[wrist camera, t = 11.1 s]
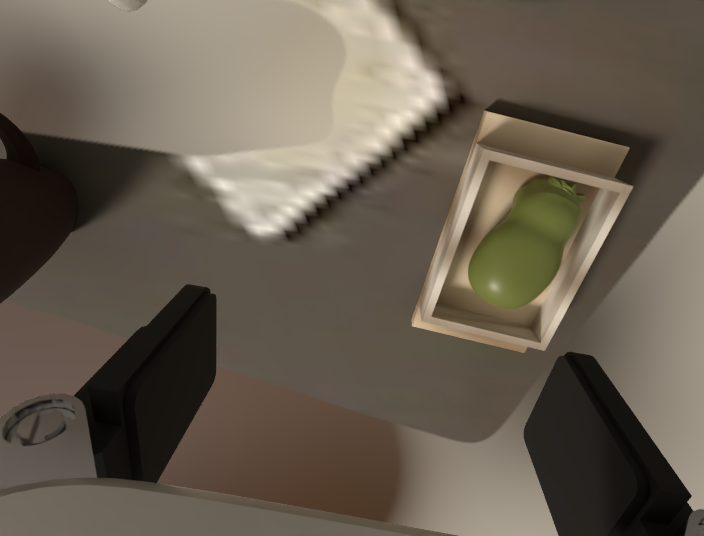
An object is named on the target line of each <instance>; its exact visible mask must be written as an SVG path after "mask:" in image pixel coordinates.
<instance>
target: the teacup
mask: <svg viewBox="0 0 704 536" xmlns="http://www.w3.org/2000/svg"><path fill="white" fill-rule="evenodd" d="M108 1H109V2H111V3H112V4H113V5H114V6H116V7H118V8H120V9H122V10H124V11H129V12H131V11H134V10H138V9H139V8H140V7H141V6H143V5H144V4H145V3H146V2H147V0H108Z"/></svg>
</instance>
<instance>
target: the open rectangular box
mask: <svg viewBox="0 0 704 536" xmlns="http://www.w3.org/2000/svg"><path fill="white" fill-rule="evenodd" d="M629 149H630V148H629V147H626V146H622V145H618V144H615V143H611V142H607V141H603V140H599V139H595V138H591V137H587V136H583V135H579V134H575V133H571V132H567V131H563V130H559V129H555V128H552V127H548V126H544V125H540V124H536V123H532V122H528V121H524V120H520V119H516V118H512V117H508V116H504V115H500V114H496V113H492V112H489V111H485V110H484V113H483V116H482V119H481V121H480V124H479V127H478V130H477V133H476V136H475V139H474V142H473V144H472V147H471V150H470V153H469V156H468V159H467V162H466V165H465V167H464V170H463V173H462V176H461V179H460V182H459V185H458V188H457V190H456V193H455V196H454V199H453V202H452V205H451V208H450V211H449V213H448V216H447V219H446V222H445V225H444V228H443V231H442V234H441V236H440V239H439V242H438V245H437V248H436V251H435V254H434V257H433V259H432V262H431V265H430V268H429V271H428V274H427V277H426V280H425V282H424V285H423V288H422V291H421V294H420V297H419V300H418V303H417V305H416V308H415V311H414V314H413V317H412V326H414V327H418V328H422V329H427V330H431V331H435V332H439V333H443V334H448V335H452V336H456V337H460V338H464V339H468V340H473V341H477V342H481V343H485V344H489V345H494V346H498V347H502V348H506V349H510V350H515V351H519V352H523V353H525V351H526V349H527V347H531V348H535V349H539V350H543V351H545V349H546V348H547V346H548V344H549V342H550V340H551V338H552V336H553V335H554V333H555V331H556V329H557V327H558V325H559V323H560V322H561V320H562V318H563V316H564V314H565V312H566V311H567V309H568V307H569V305H570V303H571V301H572V299H573V298H574V296H575V294H576V292H577V290H578V288H579V286H580V285H581V283H582V281H583V279H584V277H585V275H586V274H587V272H588V270H589V268H590V266H591V264H592V262H593V261H594V259H595V257H596V255H597V253H598V251H599V249H600V248H601V246H602V244H603V242H604V240H605V238H606V237H607V235H608V233H609V231H610V229H611V227H612V225H613V224H614V222H615V220H616V218H617V216H618V214H619V212H620V211H621V209H622V207H623V205H624V203H625V201H626V200H627V198H628V196H629V194H630V192H631V190H632V188H633V186H631V185H629V184H627V183H625V182H622V181H620V180H618V179H616V178H615V176H616V174H617V172H618V170H619V168H620V166H621V164H622V162H623V160H624V158H625V156H626V155H627V153H628V151H629ZM550 176H554V177H556V178H559V179H561V180H563V181H565V182H567V183H577V186H576V190H575V193H580V194H584V195H585V198H584V200H583V201H582V202H581V204H580V209H581V212H582V213H581V217H580V221H579V224H578V226H577V228H576V230H575V231H574V233H573V234H572V235H571V237H570V238H569V239H568V241H567V242H566V244H565V247H564V251H563V257H562V262H561V265H560V268H559V270H558V272H557V274H556V276H555V277H554V279H553V280H552V282H551V283H550V284H549V286H548V287H547V288H546V289H545V290H544V291H543V292H542V293H541V294H540V295H539V296H538V297H537V298H536V299H534V300H533V301H532V302H530V303H529V304H527V305H525V306H522V307H519V308H515V309H504V308H499V307H496V306H493V305H491V304H489V303H487V302H485V301H484V300H483V299H481V298H480V297H479V296H478V295H477V294H476V293H475V291H474V290H473V289H472V287H471V285H470V282H469V278H468V266H469V262H470V259H471V257H472V255H473V253H474V251H475V250H476V248H477V246H478V245H479V244H480V242H481V241H482V240H483V238H484V237H485V236H486V235H487V234H488V233H489V232H490V231H491V230H492V229H493V228H494V227H496V226H497V225H499V224H500V223H501V222H502V221H504V219H505V218H506V217H507V215H508V214H509V212H510V211H511V210H512V207H513V198H514V195H515V193H516V192H517V190H518V189H520V188H521V187H523V186H526V185H527V184H528V183H530V182H532V181H533V180H535V179H537V178H538V179H545V178H547V177H550Z"/></svg>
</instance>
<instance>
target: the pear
mask: <svg viewBox="0 0 704 536" xmlns="http://www.w3.org/2000/svg"><path fill="white" fill-rule="evenodd" d="M576 186H577V183H567V182H565V181H563V180H561V179H559V178H556V177H554V176H550V177H547V178H545V179H538V178H537V179H535V180H533V181H532V182H530V183H528V184H527V185H526V186H523V187H521V188H520V189H518V190H517V192H516V193H515V195H514V198H513V207H512V210H511V211H510V212H509V214H508V215H507V217H506V218H505V219H504V221H502V222H501V223H500V224H499V225H497V226H496V227H494V228H493V229H492V230H491V231H490V232H489V233H488V234H487V235H486V236H485V237H484V238H483V240H482V241H481V242H480V244H479V245H478V246H477V248H476V250H475V251H474V253H473V255H472V257H471V259H470V262H469V266H468V278H469V282H470V285H471V287H472V289H473V290H474V291H475V293H476V294H477V295H478V296H479V297H480V298H481V299H483V300H484V301H485V302H487V303H489V304H491V305H493V306H496V307H499V308H504V309H515V308H519V307H522V306H525V305H527V304H529V303H530V302H532V301H533V300H534V299H536V298H537V297H538V296H539V295H540V294H541V293H542V292H543V291H544V290H545V289H546V288H547V287H548V286H549V284H550V283H551V282H552V280H553V279H554V277H555V276H556V274H557V272H558V270H559V268H560V265H561V262H562V257H563V251H564V247H565V244H566V242H567V241H568V239H569V238H570V237H571V235H572V234H573V233H574V231H575V230H576V228H577V226H578V224H579V221H580V217H581V213H582V212H581V209H580V204H581V202H582V201H583V200H584V198H585V195H584V194H580V193H575V190H576Z"/></svg>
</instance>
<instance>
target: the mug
mask: <svg viewBox="0 0 704 536" xmlns="http://www.w3.org/2000/svg"><path fill="white" fill-rule="evenodd" d="M0 138H1V140H2V142H3V144H4V146H5V149H6V152H7V159H0V303H2V302H3V301H4V300H5V299H7V298H8V297H9V296H10V295H12V294H13V293H14V292H15V291H16V290H17V289H18V288H20V287H21V286H22V285H23V284H24V283H25V282H26V281H27V280H28V279H29V278H30V277H32V276H33V275H34V274H35V273H36V272H37V271H38V270H39V269H40V268H41V267H42V266H43V265H44V264H45V263H46V262H47V261H48V260H49V259H50V258H51V257H52V256H53V254H54V253H55V252H56V251H57V250H58V248H59V247H60V246H61V245H62V243H63V242H64V241H65V239H66V238H67V237H68V235H69V234H70V232H71V231H72V229H73V227H74V225H75V221H76V217H77V201H76V196H75V192H74V189H73V186H72V184H71V183H70V182H69V181H68V180H66V179H65V178H64V177H62V176H61V175H59V174H57V173H56V172H54V171H52V170H50V169H48V168H46V167H43V166H40V165H39V160H38V157H37V155H36V153H35V151H34V149H33V147H32V145H31V144H30V142H29V141H28V139H27V138H26V137H25V135H24V134H23V133H22V132H21V131H20V130H19V129H18V127H17V126H15V125H14V124H13V123H12V122H11V121H10V120H9V119H8V118H7V117H5V116H4V115H2V114H1V113H0Z"/></svg>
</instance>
